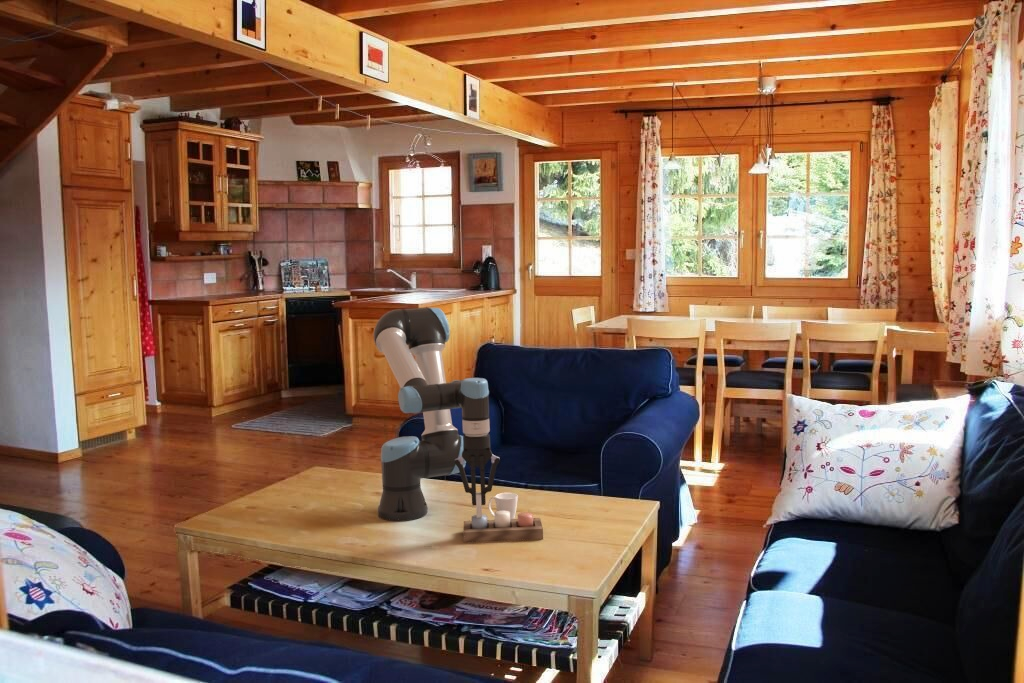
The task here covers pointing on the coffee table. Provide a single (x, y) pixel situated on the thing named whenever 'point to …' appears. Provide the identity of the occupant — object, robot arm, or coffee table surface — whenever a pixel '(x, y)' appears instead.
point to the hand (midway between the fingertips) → (479, 516)
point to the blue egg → (479, 522)
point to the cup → (505, 503)
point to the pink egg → (525, 520)
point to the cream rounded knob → (502, 519)
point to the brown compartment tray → (503, 532)
